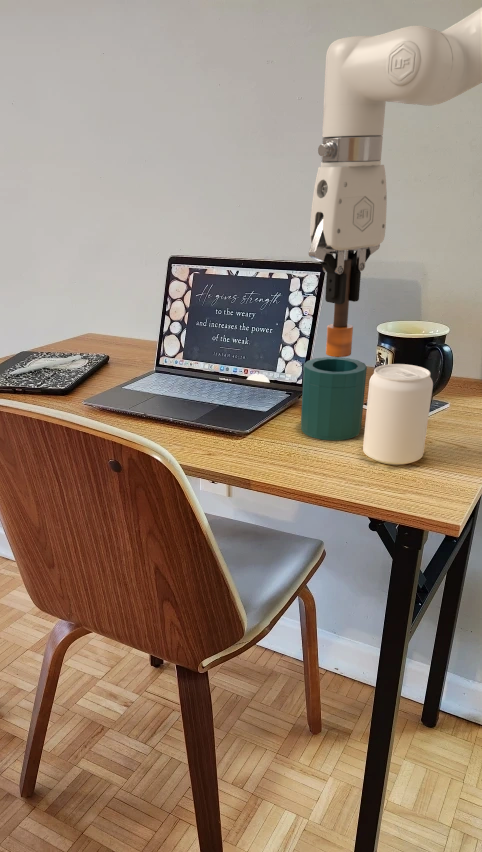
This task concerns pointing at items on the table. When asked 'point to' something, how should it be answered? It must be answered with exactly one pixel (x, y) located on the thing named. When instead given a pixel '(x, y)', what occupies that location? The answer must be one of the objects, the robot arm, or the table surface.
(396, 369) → the beverage can
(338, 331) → the brown and orange pestle
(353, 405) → the jar
